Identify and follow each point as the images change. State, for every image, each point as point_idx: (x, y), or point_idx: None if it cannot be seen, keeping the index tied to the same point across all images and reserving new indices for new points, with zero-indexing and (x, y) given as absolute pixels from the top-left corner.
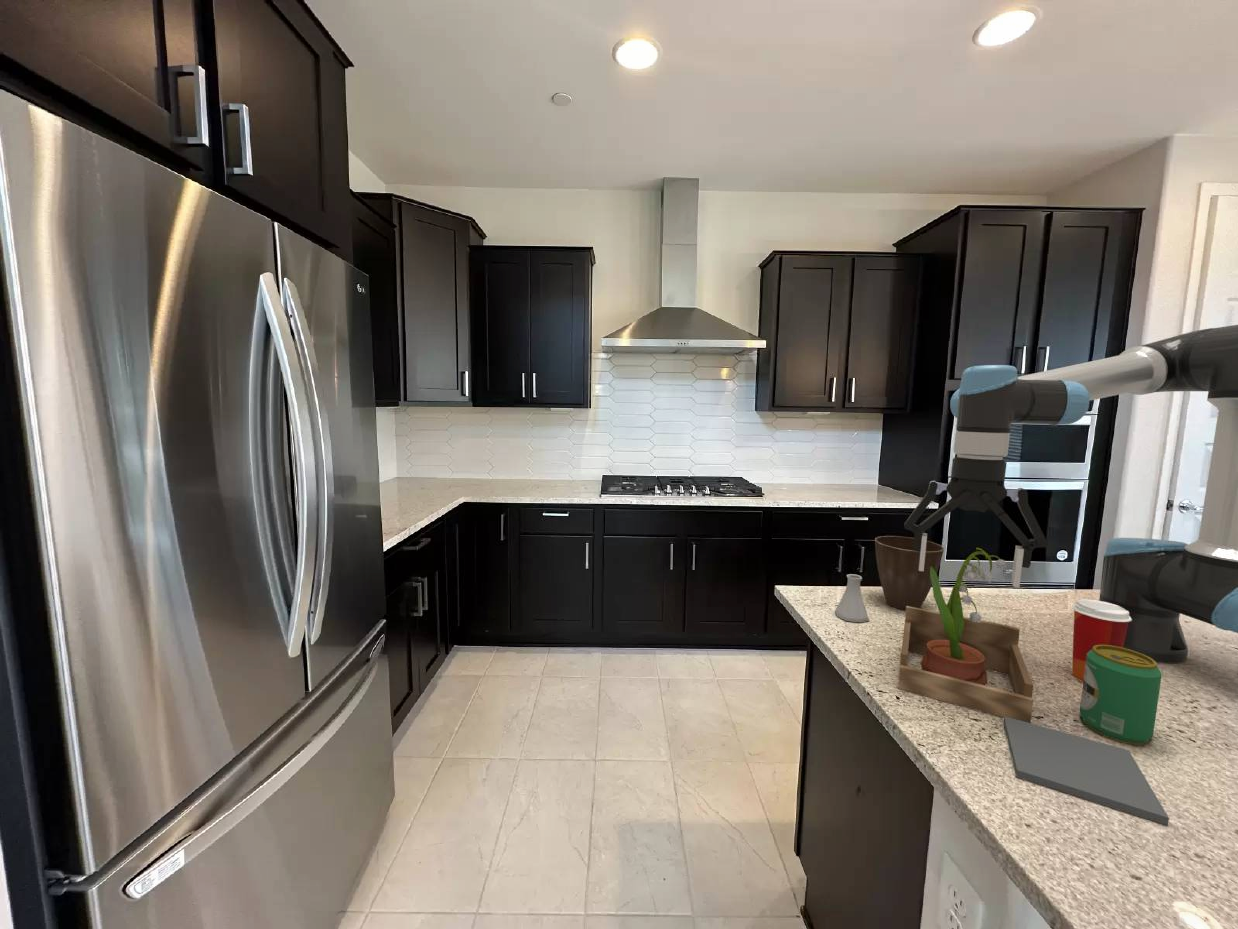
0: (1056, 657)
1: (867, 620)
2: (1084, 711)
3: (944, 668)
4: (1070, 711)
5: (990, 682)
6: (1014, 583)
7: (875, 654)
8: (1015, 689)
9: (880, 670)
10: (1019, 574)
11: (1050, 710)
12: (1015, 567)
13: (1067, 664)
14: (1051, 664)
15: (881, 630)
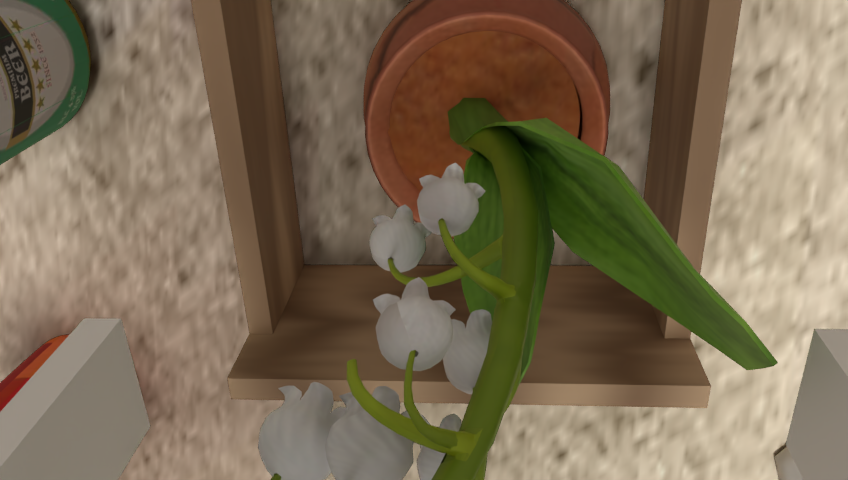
0: (178, 474)
1: (783, 452)
2: (60, 21)
3: (527, 7)
4: (124, 95)
5: (356, 167)
6: (103, 334)
7: (776, 159)
8: (273, 97)
9: (770, 6)
10: (28, 392)
11: (177, 60)
12: (34, 452)
13: (149, 442)
14: (188, 418)
15: (728, 399)
